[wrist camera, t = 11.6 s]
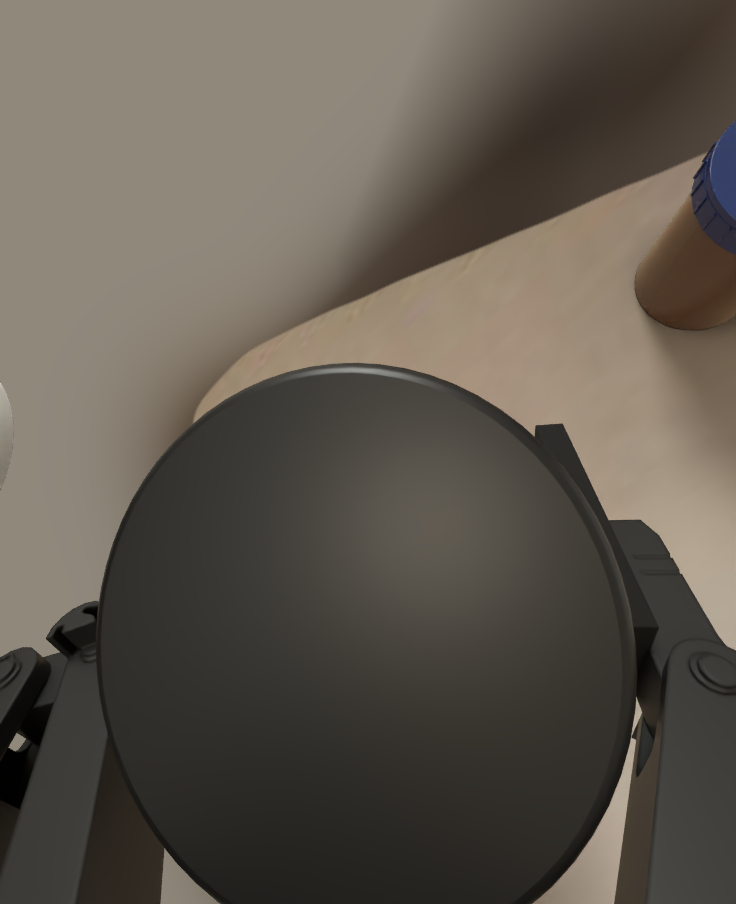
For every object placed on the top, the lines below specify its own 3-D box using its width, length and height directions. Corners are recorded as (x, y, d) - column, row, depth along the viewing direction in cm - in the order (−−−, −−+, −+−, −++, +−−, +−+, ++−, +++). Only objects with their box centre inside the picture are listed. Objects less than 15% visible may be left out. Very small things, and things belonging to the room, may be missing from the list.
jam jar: (611, 291, 30) (679, 191, 21) (681, 217, 30) (781, 85, 21) (701, 350, 28) (818, 270, 19) (776, 273, 28) (932, 153, 19)
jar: (537, 479, 17) (714, 390, 5) (508, 685, 16) (647, 1132, 4) (333, 445, 19) (140, 330, 7) (297, 626, 18) (7, 817, 6)
